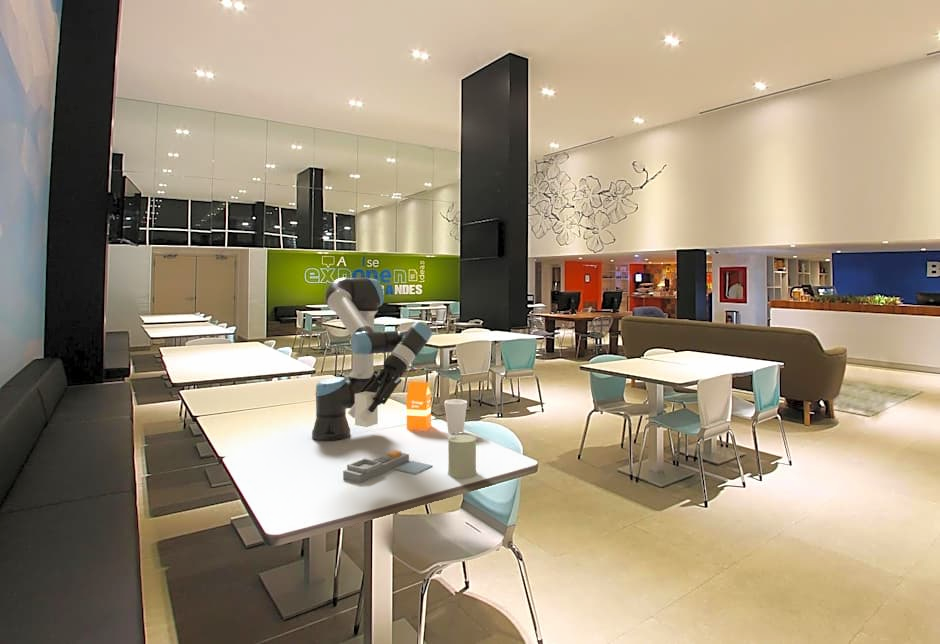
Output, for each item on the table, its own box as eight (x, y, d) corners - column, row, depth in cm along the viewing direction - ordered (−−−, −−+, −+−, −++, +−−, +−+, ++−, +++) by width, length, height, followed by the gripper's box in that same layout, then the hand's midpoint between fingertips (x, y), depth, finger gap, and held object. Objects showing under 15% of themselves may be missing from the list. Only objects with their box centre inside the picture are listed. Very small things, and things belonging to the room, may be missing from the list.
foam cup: (464, 435, 208) (464, 404, 207) (442, 434, 210) (442, 403, 209) (468, 429, 217) (468, 399, 217) (447, 428, 219) (447, 398, 218)
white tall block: (355, 424, 161) (354, 393, 161) (366, 421, 165) (365, 391, 165) (366, 427, 158) (366, 395, 158) (377, 423, 163) (377, 392, 162)
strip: (342, 478, 160) (342, 466, 159) (392, 457, 180) (392, 447, 180) (360, 483, 155) (360, 471, 155) (409, 461, 176) (409, 451, 176)
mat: (394, 469, 168) (394, 468, 168) (411, 461, 175) (411, 460, 175) (415, 474, 163) (415, 473, 163) (432, 466, 171) (432, 465, 171)
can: (447, 468, 169) (447, 433, 168) (474, 468, 169) (475, 432, 169) (448, 478, 159) (448, 441, 159) (477, 478, 160) (477, 440, 159)
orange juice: (426, 430, 217) (426, 383, 216) (406, 429, 218) (406, 383, 217) (431, 425, 224) (431, 380, 223) (412, 424, 226) (411, 380, 225)
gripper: (422, 371, 164) (380, 430, 154) (389, 365, 178) (348, 418, 168) (409, 356, 160) (364, 415, 150) (376, 351, 174) (333, 405, 164)
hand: (356, 417), depth 159 cm, fingers closed on white tall block, 6 cm apart
